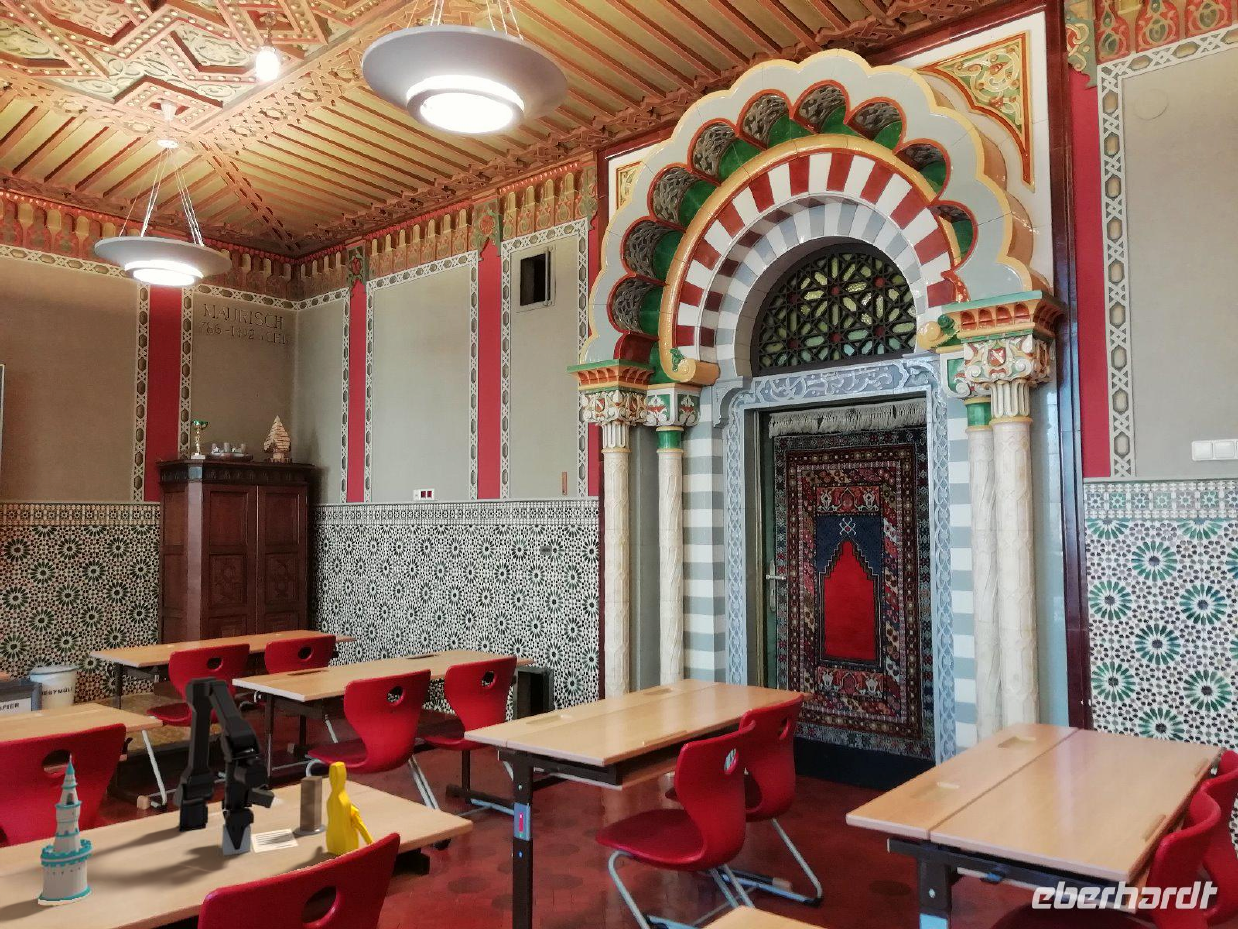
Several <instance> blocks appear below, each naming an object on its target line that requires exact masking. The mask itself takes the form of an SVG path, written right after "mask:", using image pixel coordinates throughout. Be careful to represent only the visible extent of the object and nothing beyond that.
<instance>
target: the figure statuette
mask: <svg viewBox="0 0 1238 929" xmlns="http://www.w3.org/2000/svg"><path fill="white" fill-rule="evenodd" d="M347 779H348V778H347V770H346V765H345V763H344V762H342V761H337V762H334V763H331V764H330V765H329V769H328V781H329V784H330V788H331V792H330V794H329V796H328V797H327V800H326V804H325V805H326V814H327V825H326V827H327V829H326V831H325V842H326V843H325V844H326V849H327V852H328V853H330V854H333V855H336V856H339V855H343V854H346V853H347V852H351V851H353V850H355V849H359V850H360V837H359V834H360V836H361V838H362V839H363V840H364V842H365V843H366V846H367V845H369V844H371V843H373V842H374V840H373V838H372V836H371V834H370V833H369V831H368V829H367V828H366V826H365V823H364V822H363V820H362V818H361V815H360V810H359V808H358V807H356V806H355V805H354V804H353V803H352V802H351V800H350V798H349V796H348V793H347V791H346V788H345V787H346V782H347ZM374 843H375V842H374Z"/></svg>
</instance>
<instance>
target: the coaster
mask: <svg viewBox="0 0 1238 929" xmlns="http://www.w3.org/2000/svg"><path fill="white" fill-rule="evenodd" d="M326 829H327V825H326V824H321V827H320V828H319V829H317V830H316V831H300V826H297V827H296V828H295V829H294V832H293V833H294V834H295V835H297V836H314V835H319V834H322V833H324V832H326Z"/></svg>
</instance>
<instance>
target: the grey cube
mask: <svg viewBox="0 0 1238 929" xmlns="http://www.w3.org/2000/svg"><path fill="white" fill-rule="evenodd" d="M251 832H252V827H251V824H250V825H248V826H247V827H246V828H245V831H244V835H243V839H242V843H241V846H240V849H239V850H235V849H234V846H233V844H232V841H231V838H230V836H229V833H228V831H227V828H226V826H225V823H224V824H222V836H221V837H222V839H221V840H222V841H221V850H222V855H223V856H224V855H226V856H230V855H237V854H242V853H243V854H244V853H250V852H251V844H252V841H251V835H252V833H251Z"/></svg>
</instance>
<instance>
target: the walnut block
mask: <svg viewBox="0 0 1238 929" xmlns="http://www.w3.org/2000/svg"><path fill="white" fill-rule="evenodd" d="M299 799H300V801H299V802H300V803H299V804H300V806H299V807H300V808H299V810H300V812H299V827H300V831H316V830H317V829H319V828H320V827H321V824H322V823H323V822H322V819H323V814H322V812H323V810H322V809H323V776H321V775H307V776H306V777H303V778H301V779H300V798H299Z"/></svg>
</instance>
